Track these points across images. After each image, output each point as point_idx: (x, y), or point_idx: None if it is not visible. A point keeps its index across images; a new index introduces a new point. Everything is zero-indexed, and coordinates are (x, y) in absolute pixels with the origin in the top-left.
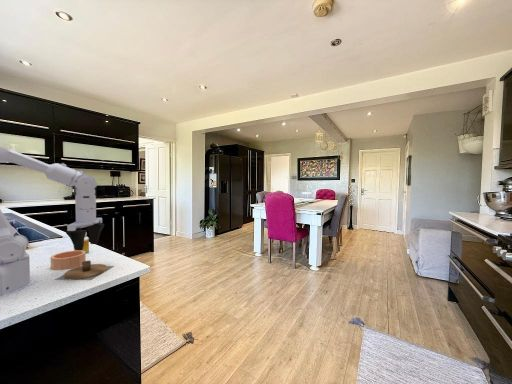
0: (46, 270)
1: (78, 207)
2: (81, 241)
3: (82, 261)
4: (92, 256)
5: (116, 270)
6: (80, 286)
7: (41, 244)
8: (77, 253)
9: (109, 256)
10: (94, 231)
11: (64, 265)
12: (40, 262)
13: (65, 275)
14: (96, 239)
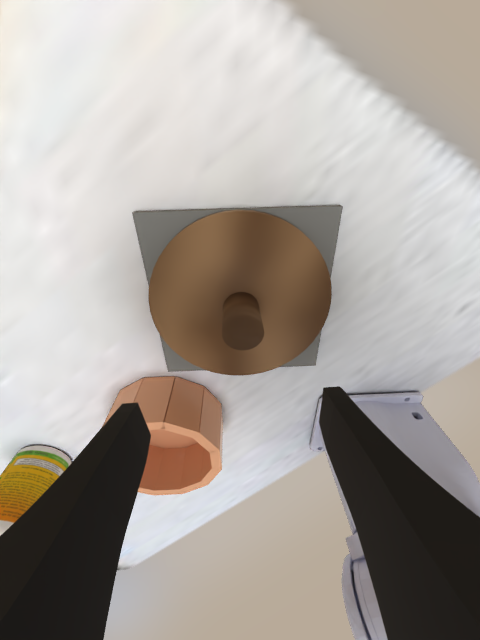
0: None
1: None
2: (411, 460)
3: (150, 392)
4: (45, 414)
5: (176, 158)
6: (394, 216)
7: None
8: None
9: (3, 353)
10: (76, 580)
11: (214, 416)
12: None
13: (304, 347)
14: (119, 443)
